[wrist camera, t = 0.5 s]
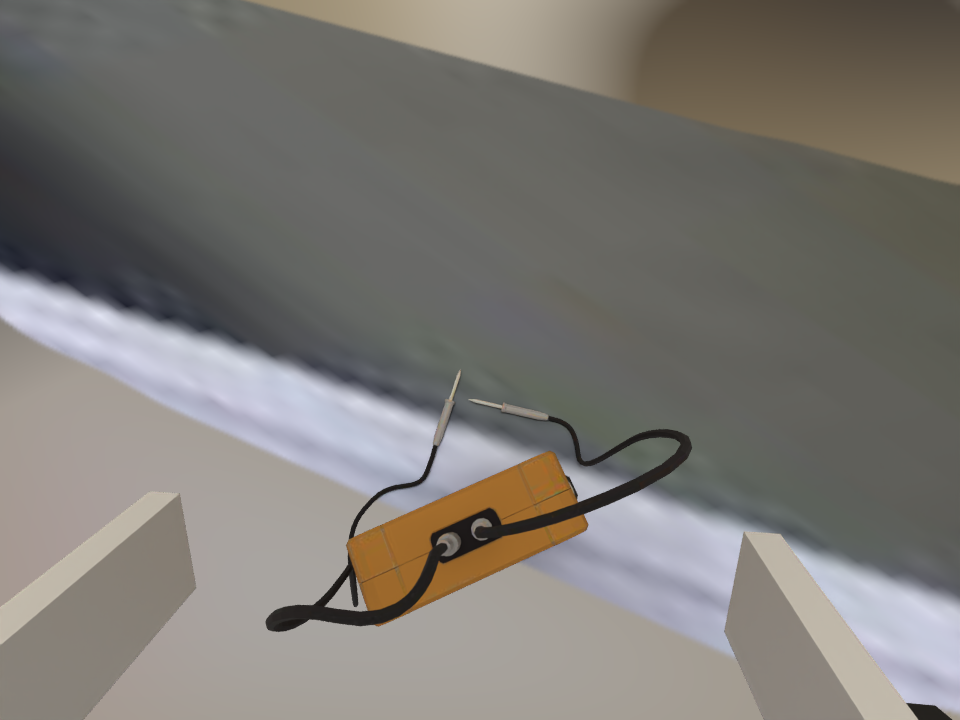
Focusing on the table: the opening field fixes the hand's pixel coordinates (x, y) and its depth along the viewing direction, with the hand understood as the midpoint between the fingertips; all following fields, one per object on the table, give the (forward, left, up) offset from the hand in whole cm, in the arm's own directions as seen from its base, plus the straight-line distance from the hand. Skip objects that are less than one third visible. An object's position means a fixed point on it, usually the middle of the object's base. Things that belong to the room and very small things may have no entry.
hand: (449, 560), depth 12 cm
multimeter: (+4, +2, -17) cm, 18 cm away
